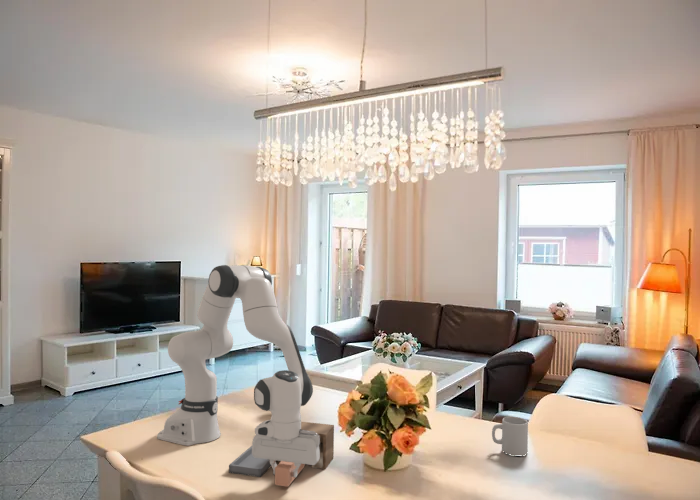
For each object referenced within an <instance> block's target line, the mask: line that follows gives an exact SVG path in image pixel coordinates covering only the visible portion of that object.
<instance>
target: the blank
mask: <svg viewBox="0 0 700 500" xmlns="http://www.w3.org/2000/svg"><path fill="white" fill-rule="evenodd" d="M295 468H296V466H294V463H293V462H285V461H281V462H280V463H277V466H276V467H275V475H274V486H282V487H290V485H291V484H292V482H293V481H294V480H295V479H296V477H291V471H292V469H295ZM304 468H305V464H301V465H300V467H299V469H298V473H297V476H298V475H299V474H300V473H301V471H303V469H304Z"/></svg>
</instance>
